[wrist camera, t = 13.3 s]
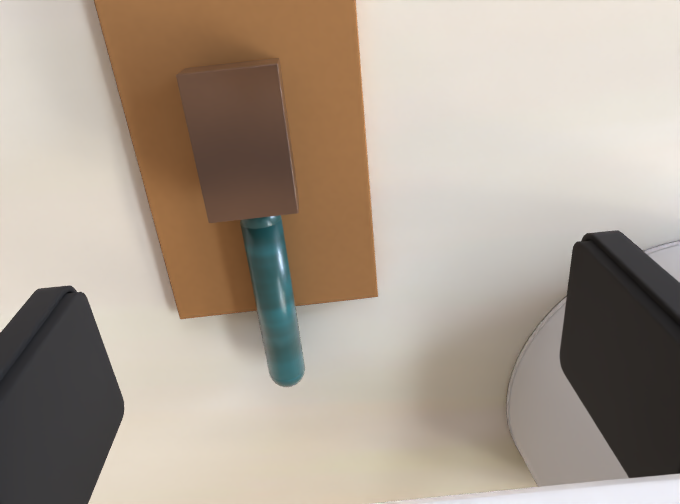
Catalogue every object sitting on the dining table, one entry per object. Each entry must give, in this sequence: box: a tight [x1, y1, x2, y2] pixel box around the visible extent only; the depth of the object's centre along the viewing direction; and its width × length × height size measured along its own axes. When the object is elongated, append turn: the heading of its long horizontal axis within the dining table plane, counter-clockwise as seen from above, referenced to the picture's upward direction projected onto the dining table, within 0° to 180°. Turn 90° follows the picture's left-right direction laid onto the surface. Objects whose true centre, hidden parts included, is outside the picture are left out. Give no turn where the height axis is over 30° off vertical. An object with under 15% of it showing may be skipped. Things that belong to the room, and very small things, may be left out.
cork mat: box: [94, 0, 378, 319], centre depth 29 cm, size 20×12×1 cm, turn 5°
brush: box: [176, 58, 305, 387], centre depth 29 cm, size 19×4×4 cm, turn 5°
